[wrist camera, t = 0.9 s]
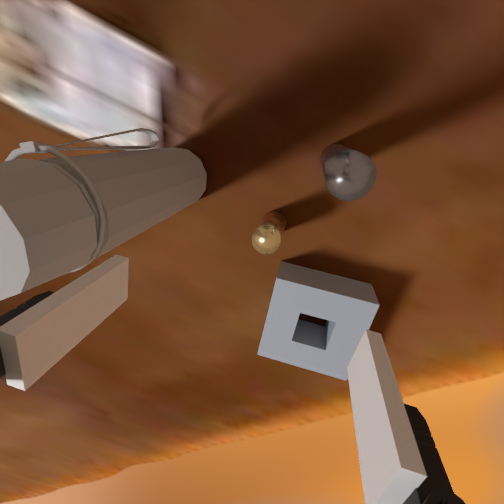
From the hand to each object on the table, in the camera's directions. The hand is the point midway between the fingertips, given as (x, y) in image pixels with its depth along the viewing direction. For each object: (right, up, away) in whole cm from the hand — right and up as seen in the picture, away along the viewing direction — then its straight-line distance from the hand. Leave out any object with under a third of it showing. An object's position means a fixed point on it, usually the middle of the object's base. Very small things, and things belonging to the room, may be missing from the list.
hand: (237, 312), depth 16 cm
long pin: (+10, +14, +17) cm, 24 cm away
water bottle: (-8, +14, +21) cm, 27 cm away
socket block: (+9, -5, +25) cm, 27 cm away
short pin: (+4, +7, +21) cm, 23 cm away
